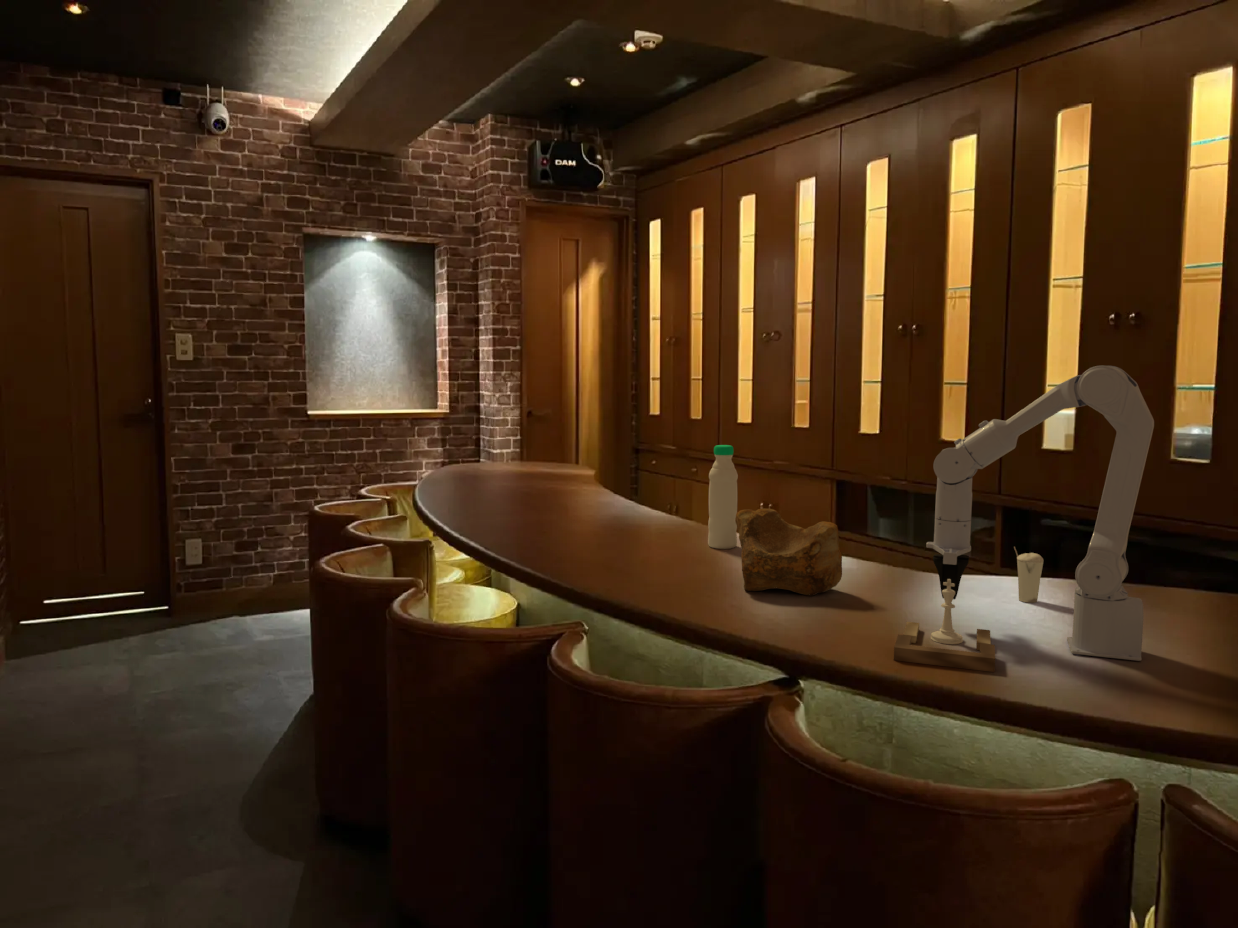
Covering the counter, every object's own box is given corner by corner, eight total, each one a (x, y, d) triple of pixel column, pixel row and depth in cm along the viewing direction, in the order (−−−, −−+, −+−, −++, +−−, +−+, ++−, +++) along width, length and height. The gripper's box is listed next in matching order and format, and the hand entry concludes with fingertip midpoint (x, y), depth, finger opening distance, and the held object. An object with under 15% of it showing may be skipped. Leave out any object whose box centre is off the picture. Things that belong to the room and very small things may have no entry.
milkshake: (1016, 595, 173) (1018, 544, 172) (1045, 600, 169) (1047, 548, 168) (1006, 599, 170) (1009, 548, 169) (1035, 605, 166) (1038, 552, 165)
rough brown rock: (702, 590, 180) (702, 518, 177) (747, 569, 193) (747, 502, 190) (805, 615, 165) (806, 536, 162) (847, 590, 178) (849, 517, 175)
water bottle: (741, 545, 222) (743, 445, 219) (729, 550, 216) (730, 447, 213) (715, 542, 225) (717, 443, 223) (702, 547, 219) (704, 445, 217)
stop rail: (993, 657, 136) (994, 644, 136) (994, 672, 130) (995, 658, 129) (897, 646, 141) (898, 634, 141) (893, 660, 135) (894, 647, 135)
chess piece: (937, 633, 149) (939, 574, 147) (967, 639, 145) (969, 578, 144) (925, 640, 145) (928, 579, 144) (956, 646, 142) (959, 584, 141)
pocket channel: (989, 637, 146) (990, 630, 146) (990, 651, 139) (990, 643, 139) (906, 628, 151) (906, 621, 151) (902, 641, 144) (902, 634, 144)
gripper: (930, 510, 159) (926, 586, 160) (925, 524, 145) (921, 605, 147) (972, 513, 156) (968, 589, 158) (971, 527, 143) (967, 610, 144)
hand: (949, 598), depth 152 cm, fingers closed
